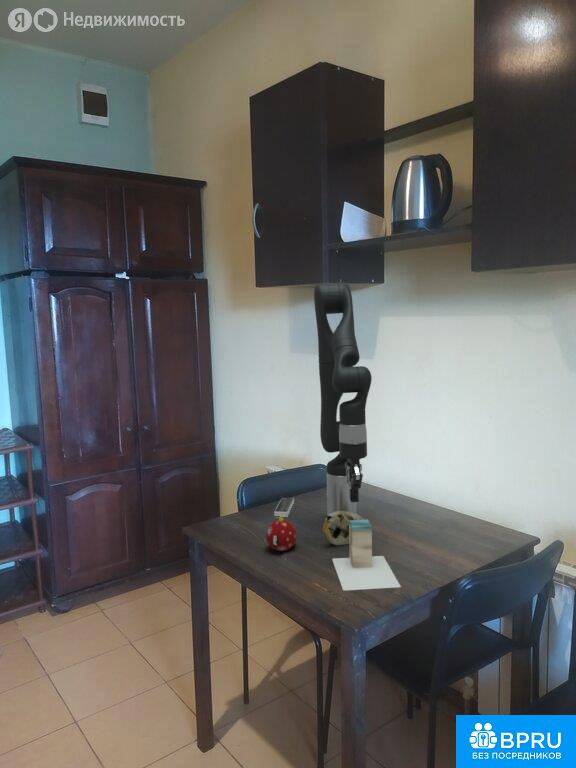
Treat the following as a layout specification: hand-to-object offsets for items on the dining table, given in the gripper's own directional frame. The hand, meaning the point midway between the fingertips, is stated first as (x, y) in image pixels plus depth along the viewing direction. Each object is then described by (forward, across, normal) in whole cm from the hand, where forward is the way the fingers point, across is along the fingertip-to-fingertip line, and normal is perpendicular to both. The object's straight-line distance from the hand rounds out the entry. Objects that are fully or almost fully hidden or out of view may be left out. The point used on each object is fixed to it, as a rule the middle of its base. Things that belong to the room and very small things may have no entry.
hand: (354, 501), depth 158 cm
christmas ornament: (+15, -4, -20) cm, 25 cm away
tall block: (+14, +9, 0) cm, 17 cm away
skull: (+15, -7, -2) cm, 17 cm away
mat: (+15, +14, 0) cm, 20 cm away
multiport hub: (+14, -38, -17) cm, 44 cm away
